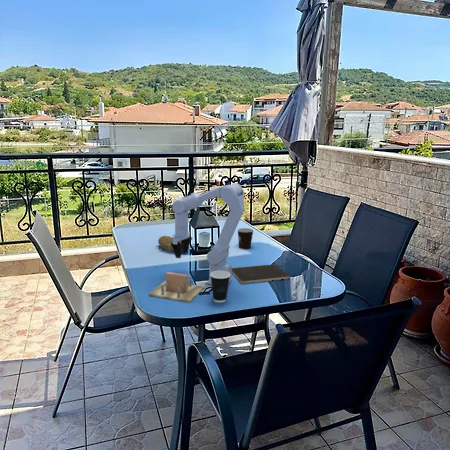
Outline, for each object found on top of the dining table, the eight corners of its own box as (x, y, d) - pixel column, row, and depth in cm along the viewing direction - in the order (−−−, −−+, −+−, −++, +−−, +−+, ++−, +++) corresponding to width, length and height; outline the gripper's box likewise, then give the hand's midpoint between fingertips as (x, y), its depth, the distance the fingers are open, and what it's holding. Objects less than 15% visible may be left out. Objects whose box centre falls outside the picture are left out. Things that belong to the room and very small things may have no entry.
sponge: (155, 248, 228) (166, 252, 210) (157, 234, 228) (168, 236, 210) (178, 250, 234) (190, 253, 216) (179, 236, 234) (192, 238, 216)
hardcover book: (289, 280, 185) (289, 275, 185) (241, 285, 179) (241, 280, 178) (274, 268, 200) (275, 263, 199) (229, 272, 193) (230, 267, 193)
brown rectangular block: (188, 290, 168) (188, 274, 167) (186, 292, 167) (186, 276, 165) (168, 287, 171) (167, 271, 169) (166, 289, 169) (165, 273, 168)
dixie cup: (219, 294, 168) (220, 268, 165) (233, 300, 163) (234, 274, 160) (205, 299, 162) (205, 273, 159) (220, 306, 157) (220, 279, 154)
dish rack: (204, 288, 173) (204, 277, 172) (189, 302, 159) (189, 291, 158) (165, 282, 179) (165, 271, 177) (148, 295, 165) (148, 284, 164)
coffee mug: (252, 250, 225) (253, 232, 222) (237, 249, 225) (237, 232, 223) (251, 243, 236) (252, 226, 234) (236, 243, 236) (237, 226, 234)
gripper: (180, 221, 189) (180, 249, 193) (166, 229, 176) (166, 259, 180) (194, 223, 187) (194, 251, 191) (181, 230, 174) (181, 261, 177)
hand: (181, 255), depth 185 cm, fingers open, 7 cm apart
